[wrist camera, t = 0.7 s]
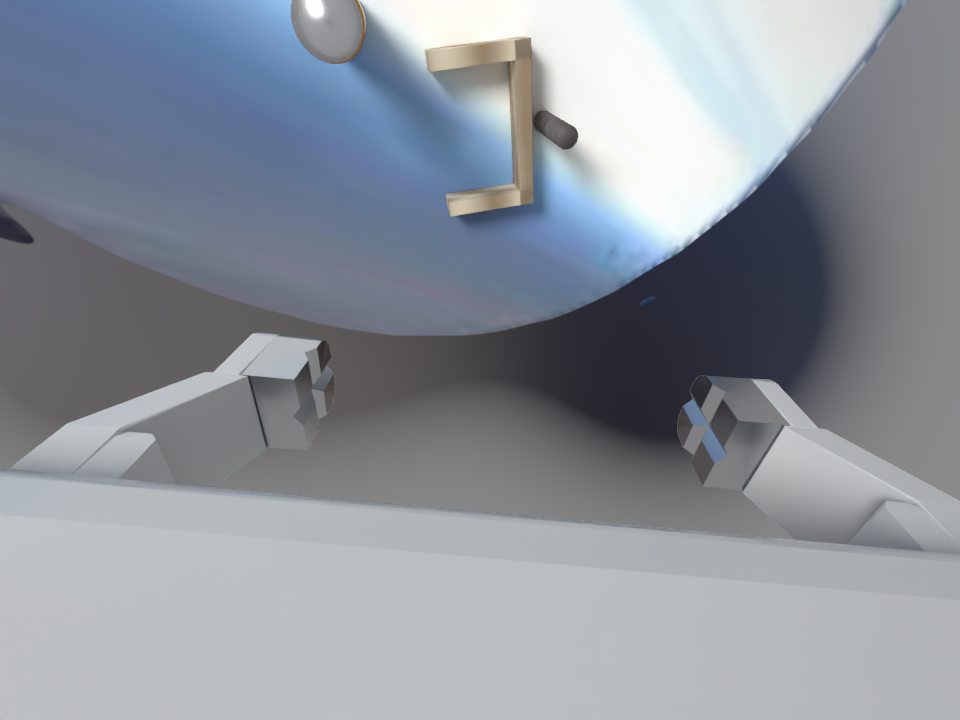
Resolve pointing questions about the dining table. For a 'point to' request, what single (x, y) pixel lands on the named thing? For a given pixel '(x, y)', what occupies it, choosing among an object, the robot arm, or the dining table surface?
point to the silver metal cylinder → (329, 28)
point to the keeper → (521, 120)
